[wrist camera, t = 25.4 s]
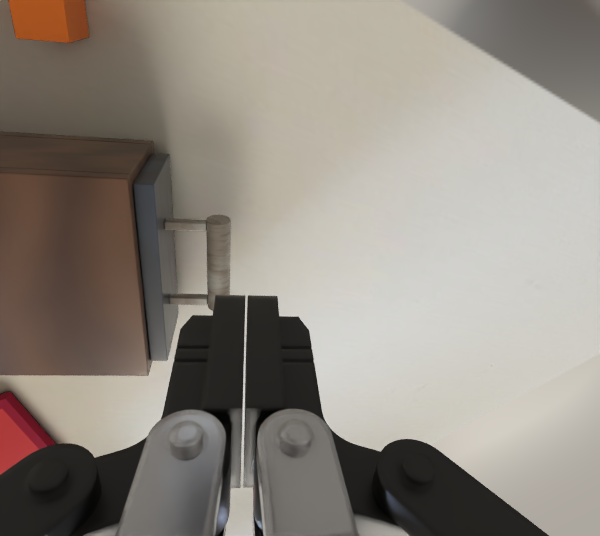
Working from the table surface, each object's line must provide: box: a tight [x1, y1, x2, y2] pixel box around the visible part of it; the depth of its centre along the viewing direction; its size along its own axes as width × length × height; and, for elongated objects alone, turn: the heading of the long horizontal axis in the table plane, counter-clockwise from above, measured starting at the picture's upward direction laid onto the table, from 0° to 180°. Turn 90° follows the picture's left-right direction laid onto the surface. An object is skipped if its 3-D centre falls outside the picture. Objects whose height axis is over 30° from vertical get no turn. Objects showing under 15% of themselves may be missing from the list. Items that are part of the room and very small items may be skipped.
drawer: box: [132, 154, 231, 361], centre depth 32 cm, size 23×13×6 cm, turn 85°
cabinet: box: [0, 132, 154, 376], centre depth 31 cm, size 20×15×8 cm
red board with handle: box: [0, 391, 55, 475], centre depth 49 cm, size 30×3×15 cm
